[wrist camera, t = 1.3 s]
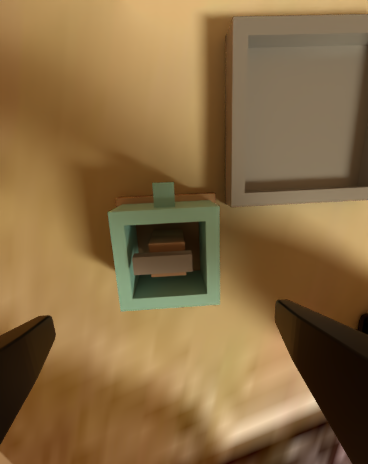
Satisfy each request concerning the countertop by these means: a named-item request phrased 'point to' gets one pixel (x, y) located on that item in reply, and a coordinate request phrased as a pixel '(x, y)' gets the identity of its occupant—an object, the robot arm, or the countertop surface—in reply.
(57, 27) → the countertop surface
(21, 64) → the countertop surface
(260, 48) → the tray
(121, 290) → the ring
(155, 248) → the brown peg stand
